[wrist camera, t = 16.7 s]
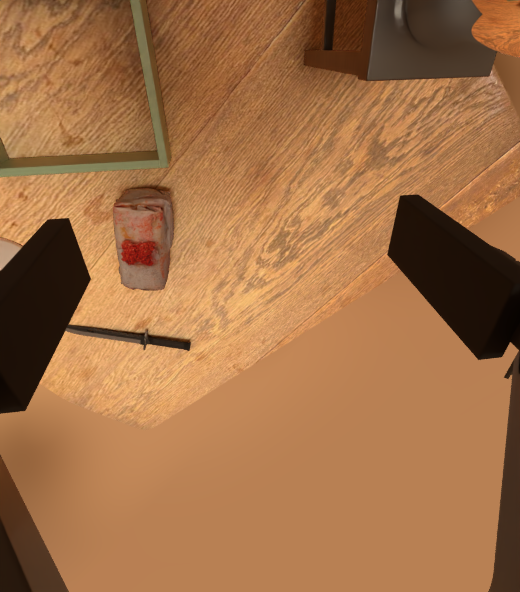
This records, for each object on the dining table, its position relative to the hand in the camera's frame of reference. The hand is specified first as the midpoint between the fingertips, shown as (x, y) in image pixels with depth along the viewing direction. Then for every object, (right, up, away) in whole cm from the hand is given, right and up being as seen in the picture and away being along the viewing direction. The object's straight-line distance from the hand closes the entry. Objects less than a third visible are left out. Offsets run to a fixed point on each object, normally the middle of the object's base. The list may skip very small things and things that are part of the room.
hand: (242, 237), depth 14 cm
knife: (-25, -10, +51) cm, 58 cm away
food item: (-16, +8, +40) cm, 44 cm away
